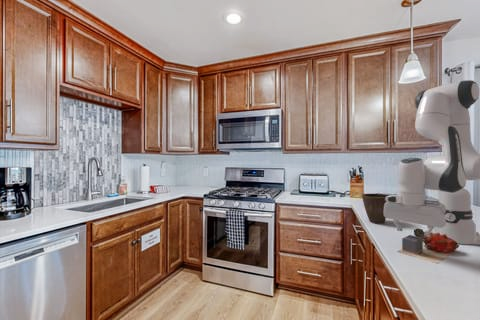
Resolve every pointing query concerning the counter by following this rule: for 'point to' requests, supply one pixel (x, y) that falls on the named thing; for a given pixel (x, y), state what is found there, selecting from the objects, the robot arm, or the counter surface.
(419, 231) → the dark brown rough rod
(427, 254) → the pine board
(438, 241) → the dragon fruit
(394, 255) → the counter surface
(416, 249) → the block
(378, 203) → the plant pot
